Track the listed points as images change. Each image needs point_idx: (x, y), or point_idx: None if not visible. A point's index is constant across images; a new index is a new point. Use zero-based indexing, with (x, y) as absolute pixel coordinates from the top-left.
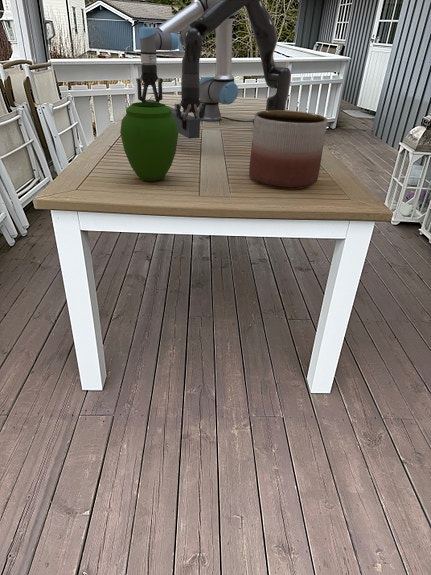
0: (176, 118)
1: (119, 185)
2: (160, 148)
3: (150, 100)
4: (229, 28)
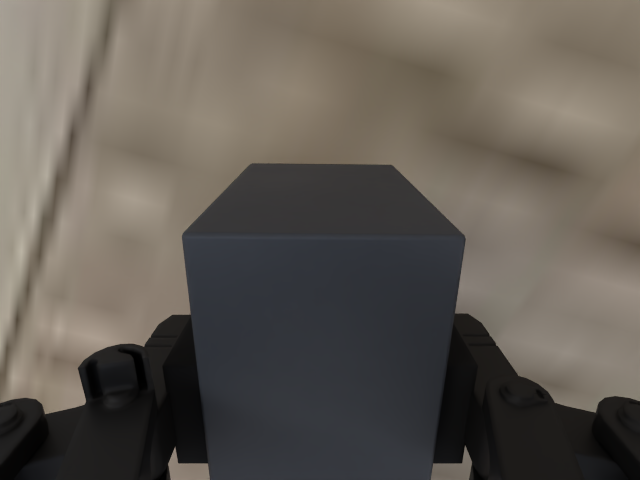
0: None
1: None
2: None
3: (345, 383)
4: None
